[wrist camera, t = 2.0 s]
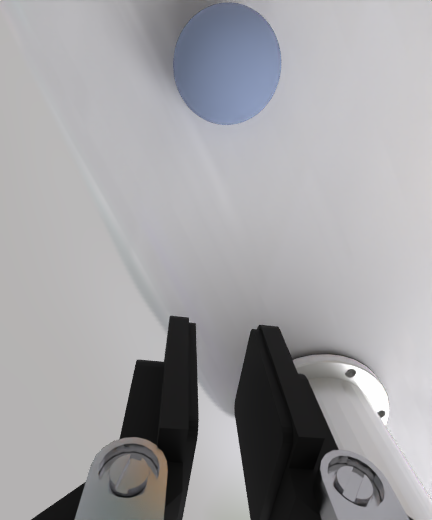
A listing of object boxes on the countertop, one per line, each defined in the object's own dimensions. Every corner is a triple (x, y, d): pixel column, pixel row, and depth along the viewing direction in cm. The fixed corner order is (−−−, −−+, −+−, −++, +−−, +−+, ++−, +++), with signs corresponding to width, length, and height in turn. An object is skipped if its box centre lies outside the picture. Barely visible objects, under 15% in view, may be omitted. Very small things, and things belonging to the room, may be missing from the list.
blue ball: (286, 84, 22) (316, 76, 17) (212, 142, 23) (219, 150, 18) (233, -6, 20) (249, -47, 15) (155, 60, 21) (144, 44, 16)
